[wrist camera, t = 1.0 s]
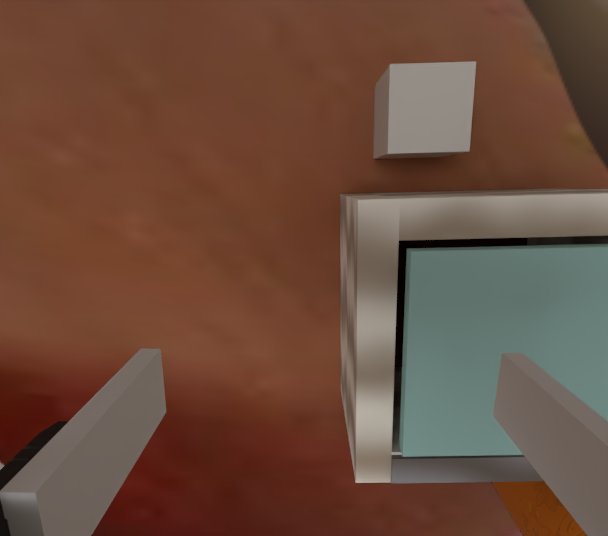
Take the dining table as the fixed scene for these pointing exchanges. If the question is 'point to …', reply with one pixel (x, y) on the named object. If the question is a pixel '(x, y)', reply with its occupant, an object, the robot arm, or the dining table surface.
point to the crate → (383, 302)
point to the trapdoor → (496, 337)
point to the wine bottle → (537, 509)
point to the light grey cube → (424, 110)
